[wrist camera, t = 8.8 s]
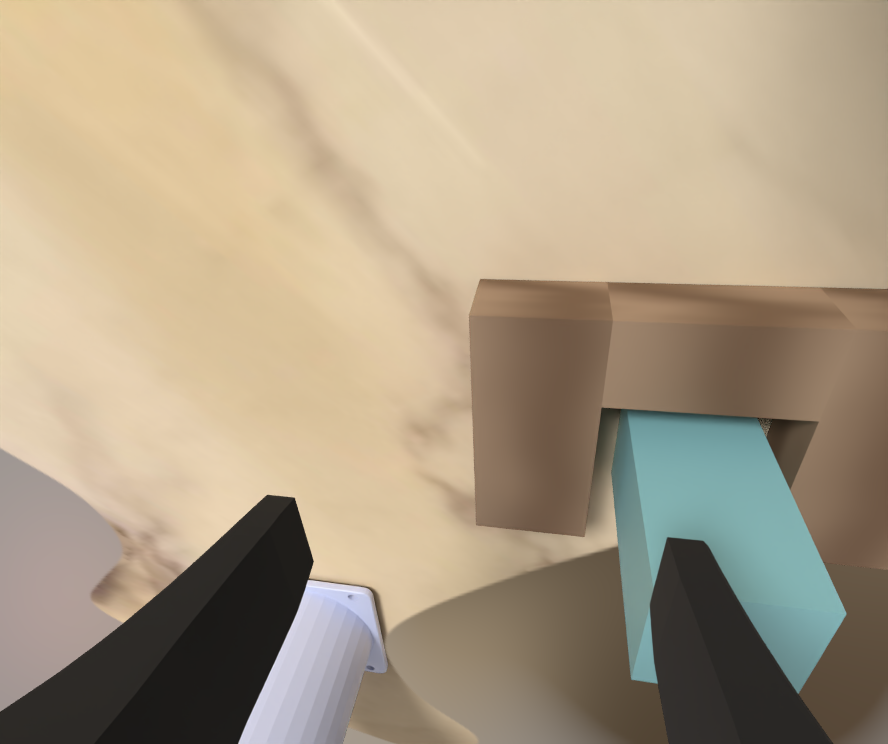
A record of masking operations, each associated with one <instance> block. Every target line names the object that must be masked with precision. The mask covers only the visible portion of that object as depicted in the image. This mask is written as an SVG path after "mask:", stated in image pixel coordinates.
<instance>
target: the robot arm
mask: <svg viewBox="0 0 888 744" xmlns="http://www.w3.org/2000/svg"><path fill="white" fill-rule="evenodd" d="M313 562H314V561H313V558H312V554H311V551H310V547H309V544H308V541H307V537H306V534H305V531H304V527H303V524H302V521H301V517H300V514H299V511H298V507H297V504H296V501H295V498H292V497H283V496H273V495H267V496H265V497H264V498H263V499H262V500H261V501H260V502H259V503H258V504H257V505H256V506H254V507H253V508H252V509H251V510H250V511H249V512H248V513H247V514H246V515H245V516H244V517H243V518H241V519H240V520H239V521H238V522H237V523H236V524H235V525H234V526H233V527H232V528H231V529H230V530H229V531H228V532H227V533H226V534H224V535H223V536H222V537H221V538H220V539H219V540H218V541H217V542H216V543H215V544H214V545H213V546H212V547H210V548H209V549H208V550H207V551H206V552H205V553H204V554H203V555H202V556H201V557H200V558H198V559H197V560H196V561H195V562H194V563H193V564H192V565H191V566H190V567H188V568H187V569H186V570H185V571H184V572H183V573H182V574H181V575H180V576H178V577H177V578H176V579H175V580H174V581H173V582H172V583H171V584H169V585H168V586H167V587H166V588H165V589H164V590H163V591H161V592H160V593H159V594H158V595H157V596H155V597H154V598H153V599H152V600H151V601H149V602H148V603H147V604H146V605H145V606H143V607H142V608H141V609H140V610H139V611H138V612H136V613H135V614H134V615H133V616H132V617H130V618H129V619H128V620H127V621H126V622H124V623H123V624H122V625H121V626H119V627H118V628H117V629H116V630H115V631H113V632H112V633H111V634H109V635H108V636H107V637H105V638H104V639H103V640H102V641H101V642H99V643H98V644H96V645H95V646H94V647H92V648H91V649H90V650H89V651H87V652H86V653H84V654H83V655H82V656H80V657H79V658H78V659H76V660H75V661H74V662H72V663H71V664H70V665H68V666H67V667H66V668H64V669H63V670H61V671H60V672H59V673H57V674H56V675H54V676H53V677H51V678H50V679H48V680H47V681H45V682H44V683H43V684H41V685H39V686H38V687H36V688H35V689H34V690H32V691H31V692H29V693H28V694H26V695H25V696H23V697H22V698H20V699H19V700H17V701H16V702H14V703H13V704H11V705H10V706H8V707H7V708H5V709H4V710H2V711H1V712H0V744H343V741H344V738H345V734H346V731H347V728H348V724H349V721H350V718H351V714H352V711H353V708H354V704H355V701H356V698H357V694H358V691H359V688H360V684H361V681H362V678H363V674H364V671H369V672H375V673H385V672H386V671H387V667H388V662H387V658H386V653H385V648H384V644H383V639H382V634H381V630H380V625H379V620H378V616H377V611H376V606H375V602H374V597H373V594H372V592H371V591H370V590H369V589H367V588H364V587H358V586H351V585H343V584H336V583H329V582H321V581H314V580H308V579H309V575H310V572H311V569H312V566H313ZM650 618H651V632H652V645H653V656H654V665H655V671H656V677H657V682H658V688H659V693H660V698H661V704H662V709H663V715H664V720H665V725H666V731H667V736H668V742H669V744H833V743H832V741H831V740H830V738H829V737H828V736H827V734H826V733H825V731H824V730H823V729H822V727H821V726H820V724H819V723H818V722H817V720H816V719H815V717H814V716H813V715H812V713H811V712H810V710H809V709H808V708H807V706H806V705H805V703H804V702H803V700H802V699H801V697H800V696H799V694H798V693H797V691H796V690H795V688H794V687H793V686H792V684H791V683H790V681H789V680H788V678H787V677H786V675H785V673H784V672H783V670H782V669H781V667H780V666H779V664H778V663H777V661H776V660H775V658H774V656H773V655H772V653H771V652H770V650H769V649H768V647H767V646H766V644H765V643H764V641H763V640H762V638H761V636H760V635H759V633H758V631H757V630H756V628H755V627H754V625H753V623H752V622H751V620H750V619H749V617H748V615H747V613H746V612H745V610H744V608H743V607H742V605H741V603H740V602H739V600H738V598H737V597H736V595H735V593H734V591H733V590H732V588H731V586H730V584H729V583H728V581H727V579H726V577H725V576H724V574H723V572H722V570H721V568H720V567H719V565H718V563H717V561H716V559H715V557H714V555H713V554H712V552H711V550H710V548H709V546H708V545H707V544H706V543H705V542H704V541H701V540H692V539H682V538H673V537H667V539H666V543H665V547H664V551H663V555H662V559H661V562H660V566H659V570H658V574H657V578H656V581H655V585H654V589H653V593H652V597H651V601H650Z"/></svg>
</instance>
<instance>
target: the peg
mask: <svg viewBox="0 0 888 744" xmlns="http://www.w3.org/2000/svg"><path fill="white" fill-rule="evenodd" d="M611 474H612V485H613V495H614V506H615V516H616V527H617V537H618V548H619V557H620V569H621V579H622V588H623V589H622V590H623V599H624V611H625V620H626V631H627V642H628V653H629V663H630V673H631V679H632V680H638V681H645V682H651V683H658V682H657V677H656V671H655V665H654V656H653V645H652V632H651V618H650V601H651V597H652V593H653V589H654V585H655V581H656V578H657V574H658V570H659V566H660V562H661V559H662V555H663V551H664V547H665V543H666V539H667V537H673V538H682V539H692V540H701V541H704V542H705V543H706V544H707V545H708V546H709V548H710V550H711V552H712V554H713V555H714V557H715V559H716V561H717V563H718V565H719V567H720V568H721V570H722V572H723V574H724V576H725V577H726V579H727V581H728V583H729V584H730V586H731V588H732V590H733V591H734V593H735V595H736V597H737V598H738V600H739V602H740V603H741V605H742V607H743V608H744V610H745V612H746V613H747V615H748V617H749V619H750V620H751V622H752V623H753V625H754V627H755V628H756V630H757V631H758V633H759V635H760V636H761V638H762V640H763V641H764V643H765V644H766V646H767V647H768V649H769V650H770V652H771V653H772V655H773V656H774V658H775V660H776V661H777V663H778V664H779V666H780V667H781V669H782V670H783V672H784V673H785V675H786V677H787V678H788V680H789V681H790V683H791V684H792V686H793V687H794V688H795V690H796V691H797V693H799V692H800V690H801V688H802V687H803V685H804V683H805V682H806V680H807V679H808V677H809V675H810V674H811V672H812V670H813V669H814V667H815V665H816V664H817V662H818V660H819V659H820V657H821V655H822V654H823V652H824V650H825V649H826V647H827V645H828V644H829V642H830V640H831V639H832V637H833V635H834V634H835V632H836V631H837V629H838V627H839V626H840V624H841V622H842V621H843V619H844V617H845V615H846V612H845V610H844V607H843V605H842V603H841V601H840V599H839V597H838V594H837V592H836V590H835V588H834V586H833V583H832V581H831V579H830V577H829V574H828V572H827V570H826V568H825V566H824V563H823V561H822V559H821V557H820V555H819V553H818V550H817V548H816V546H815V544H814V542H813V539H812V537H811V535H810V533H809V531H808V528H807V526H806V524H805V522H804V520H803V517H802V515H801V513H800V511H799V509H798V506H797V504H796V502H795V500H794V498H793V496H792V493H791V491H790V489H789V487H788V485H787V482H786V480H785V478H784V476H783V474H782V471H781V469H780V467H779V465H778V463H777V460H776V458H775V456H774V454H773V452H772V450H771V447H770V445H769V443H768V441H767V439H766V436H765V434H764V432H763V430H762V428H761V425H760V423H759V421H758V419H757V418H756V417H741V416H726V415H710V414H695V413H680V412H665V411H649V410H634V409H621V412H620V419H619V426H618V432H617V439H616V445H615V452H614V458H613V465H612V471H611Z"/></svg>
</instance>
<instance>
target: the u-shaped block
mask: <svg viewBox="0 0 888 744" xmlns="http://www.w3.org/2000/svg"><path fill="white" fill-rule="evenodd" d="M469 329H470V358H471V387H472V416H473V445H474V474H475V502H476V525H478V526H488V527H497V528H506V529H515V530H525V531H534V532H543V533H552V534H562V535H571V536H580V537H584V536H585V529H586V521H587V514H588V506H589V499H590V491H591V484H592V476H593V469H594V461H595V453H596V446H597V438H598V431H599V423H600V416H601V408H602V407H603V408H619V409H634V410H649V411H665V412H680V413H695V414H710V415H726V416H741V417H756V418H772V419H773V421H772V424H771V426H770V429H769V432H768V435H767V438H766V439H767V441H768V443H769V445H770V447H771V450H772V452H773V454H774V456H775V458H776V460H777V463H778V465H779V467H780V469H781V471H782V474H783V476H784V478H785V480H786V482H787V485H788V487H789V489H790V491H791V493H792V496H793V498H794V500H795V502H796V504H797V506H798V509H799V511H800V513H801V515H802V517H803V520H804V522H805V524H806V526H807V528H808V531H809V533H810V535H811V537H812V539H813V542H814V544H815V546H816V548H817V550H818V553H819V555H820V557H821V559H822V561H823V563H830V564H839V565H849V566H858V567H867V568H876V569H886V570H888V289H853V288H812V287H772V286H732V285H691V284H651V283H610V282H570V281H529V280H489V279H480V281H479V285H478V288H477V291H476V294H475V298H474V301H473V304H472V307H471V311H470V314H469Z"/></svg>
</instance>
